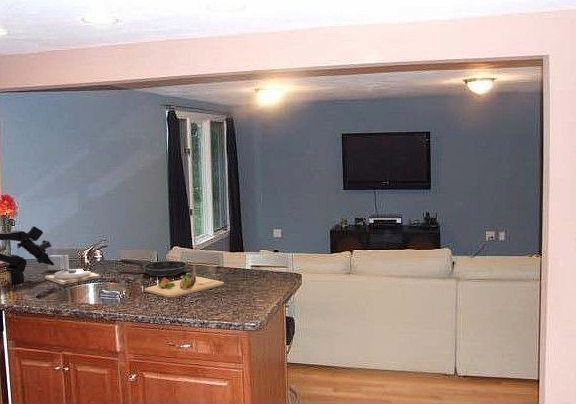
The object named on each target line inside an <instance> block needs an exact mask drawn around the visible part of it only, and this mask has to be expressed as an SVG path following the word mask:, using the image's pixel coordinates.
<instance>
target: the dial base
mask: <svg viewBox="0 0 576 404" xmlns="http://www.w3.org/2000/svg"><path fill="white" fill-rule="evenodd" d="M90 272H91V274H90V275H88V276H85V277H80V278H72V279H59V278H55V274H50V275H45V276H44V278H45V280H47V281H51V282H54V283H57V284H60V285H67V284H73V283H80V282H85V281H89V280H94V279H99V278H101V274H99V273H95V272H92V271H90Z"/></svg>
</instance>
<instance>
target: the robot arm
mask: <svg viewBox="0 0 576 404" xmlns="http://www.w3.org/2000/svg"><path fill="white" fill-rule="evenodd" d="M43 234H44V232H43V230H41V229H40V228H38V227H37V226H33V225H32V227H31V229H30V230H29V231H28V232H25V230H24V231H22V230H13V231H9V232H1V233H0V241H13V242H14V241H15V242H18V243H16V245H17V246H16V248H17V250H18V249H21V248H23V249H24V250H25V251H26V252H28V254H29V255H32V256H33V257H34V258H35V259H36V261H37V263H39V264H46V265H48V264H49V265H52V266H53V265H54V263H53V262H52V261H51V259H50V258H49V257H48V256H49V253H48V250H47V249H49V248H51V247H52V243H50V240H45V239H43V240H42V242H41V244H36V243H35V242H38V241H39V239H40V238H41V237H42V236H43ZM0 262H1V263H5V264H6V265H7V267H6V273H8V279H9V281H8V284H11V285H18V284H23V283H24V284H25V274H24V272H25V270H26V266H27V260H26V259H25V257H23V256H19V255H17V254H10V256H9V255H6V254H2V253H0Z"/></svg>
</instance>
